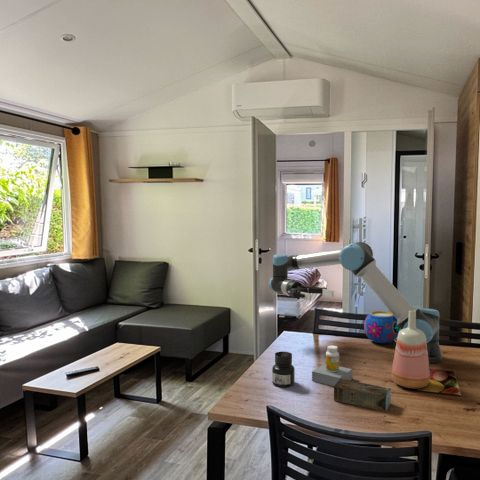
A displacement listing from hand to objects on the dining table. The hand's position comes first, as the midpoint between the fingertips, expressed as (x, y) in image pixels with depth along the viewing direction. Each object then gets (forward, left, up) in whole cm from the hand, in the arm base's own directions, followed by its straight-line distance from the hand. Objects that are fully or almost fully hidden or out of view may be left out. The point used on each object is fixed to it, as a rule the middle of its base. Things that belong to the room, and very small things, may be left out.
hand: (321, 295), depth 214 cm
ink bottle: (-1, +34, -30) cm, 45 cm away
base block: (-15, +19, -30) cm, 38 cm away
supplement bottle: (-15, +19, -26) cm, 36 cm away
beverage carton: (-33, +32, -30) cm, 55 cm away
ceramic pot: (-12, -43, -30) cm, 54 cm away
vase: (-42, +5, -30) cm, 52 cm away
